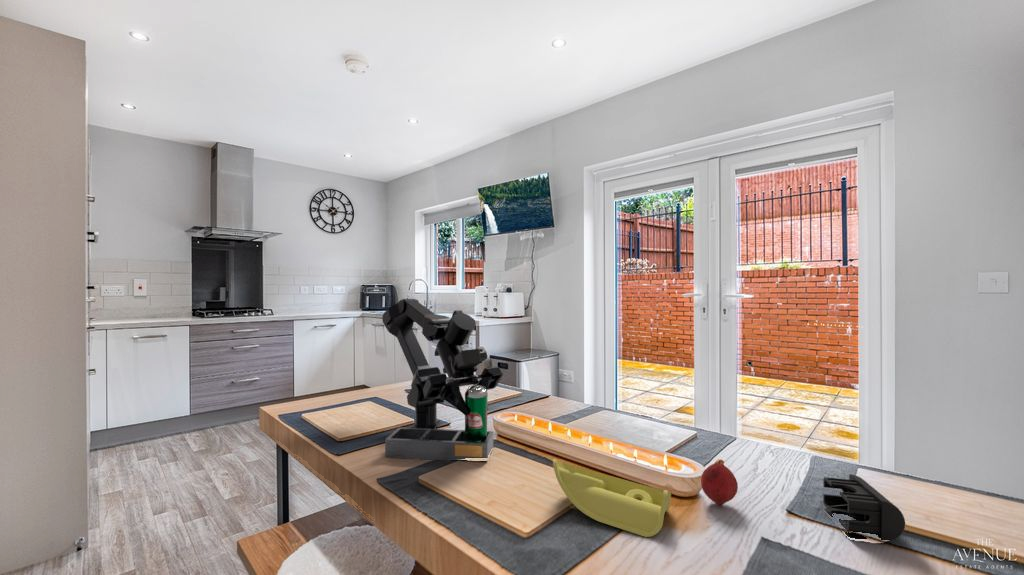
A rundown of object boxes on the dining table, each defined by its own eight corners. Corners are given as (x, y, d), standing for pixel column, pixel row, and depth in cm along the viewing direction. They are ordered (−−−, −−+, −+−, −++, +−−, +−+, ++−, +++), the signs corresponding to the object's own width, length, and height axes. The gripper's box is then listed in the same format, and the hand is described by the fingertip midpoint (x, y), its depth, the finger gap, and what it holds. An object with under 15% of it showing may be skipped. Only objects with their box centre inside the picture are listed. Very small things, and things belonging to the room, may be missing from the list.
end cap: (905, 549, 66) (906, 503, 66) (850, 542, 68) (850, 498, 67) (869, 515, 75) (870, 475, 75) (821, 510, 77) (822, 471, 77)
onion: (721, 516, 75) (722, 468, 75) (693, 501, 80) (693, 456, 80) (744, 508, 78) (744, 462, 77) (715, 494, 83) (716, 451, 83)
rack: (398, 444, 108) (398, 427, 108) (493, 448, 105) (493, 431, 105) (384, 457, 99) (384, 439, 99) (487, 462, 97) (487, 444, 97)
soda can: (461, 441, 101) (461, 391, 98) (470, 429, 105) (470, 382, 103) (481, 445, 99) (482, 395, 96) (490, 434, 104) (491, 386, 101)
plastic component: (672, 493, 78) (666, 490, 70) (666, 539, 76) (659, 541, 68) (566, 463, 87) (549, 457, 79) (557, 503, 85) (539, 501, 77)
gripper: (426, 339, 99) (450, 397, 90) (497, 333, 110) (525, 385, 100) (414, 370, 106) (434, 428, 96) (482, 362, 116) (507, 413, 107)
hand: (477, 412), depth 100 cm, fingers closed on soda can, 5 cm apart
